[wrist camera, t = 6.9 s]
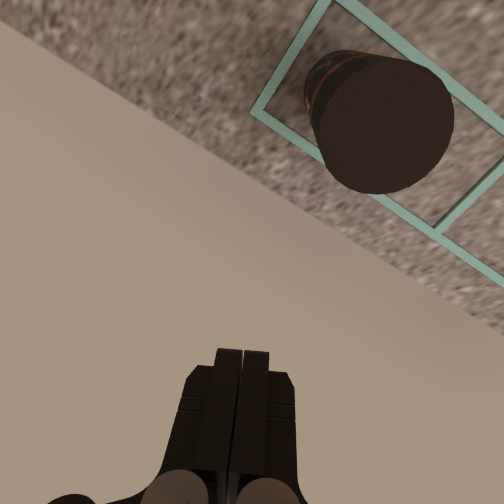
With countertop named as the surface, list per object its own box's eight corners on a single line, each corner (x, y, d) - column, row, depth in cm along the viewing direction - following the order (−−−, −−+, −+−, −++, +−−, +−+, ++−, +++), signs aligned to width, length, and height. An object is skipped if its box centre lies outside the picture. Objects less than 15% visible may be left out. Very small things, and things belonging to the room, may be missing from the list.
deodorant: (290, 80, 30) (294, 112, 17) (359, 32, 28) (423, 27, 15) (325, 144, 33) (354, 216, 19) (392, 104, 31) (473, 153, 18)
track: (249, 112, 32) (249, 113, 31) (330, -21, 27) (331, -21, 27) (506, 288, 38) (508, 291, 38) (608, 206, 33) (611, 208, 33)
